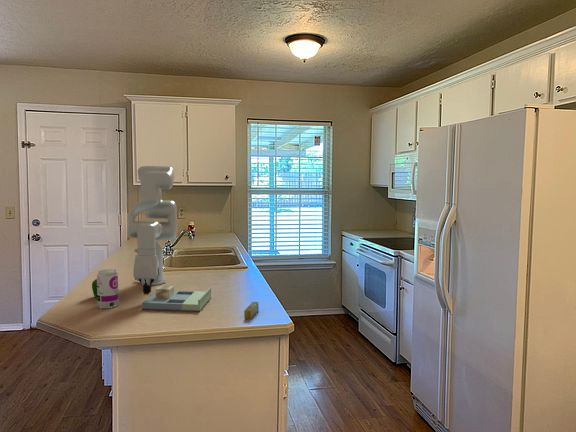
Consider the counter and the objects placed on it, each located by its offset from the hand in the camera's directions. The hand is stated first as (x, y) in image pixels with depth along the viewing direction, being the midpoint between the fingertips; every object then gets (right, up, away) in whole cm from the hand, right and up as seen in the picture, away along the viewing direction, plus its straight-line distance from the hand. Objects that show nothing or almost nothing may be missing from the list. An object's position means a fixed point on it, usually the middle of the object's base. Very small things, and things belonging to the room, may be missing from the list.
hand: (147, 293), depth 189 cm
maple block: (+8, -1, 0) cm, 8 cm away
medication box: (+47, -7, -14) cm, 49 cm away
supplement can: (-15, -5, -6) cm, 16 cm away
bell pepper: (-23, -3, +8) cm, 24 cm away
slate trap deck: (+14, -4, 0) cm, 14 cm away
